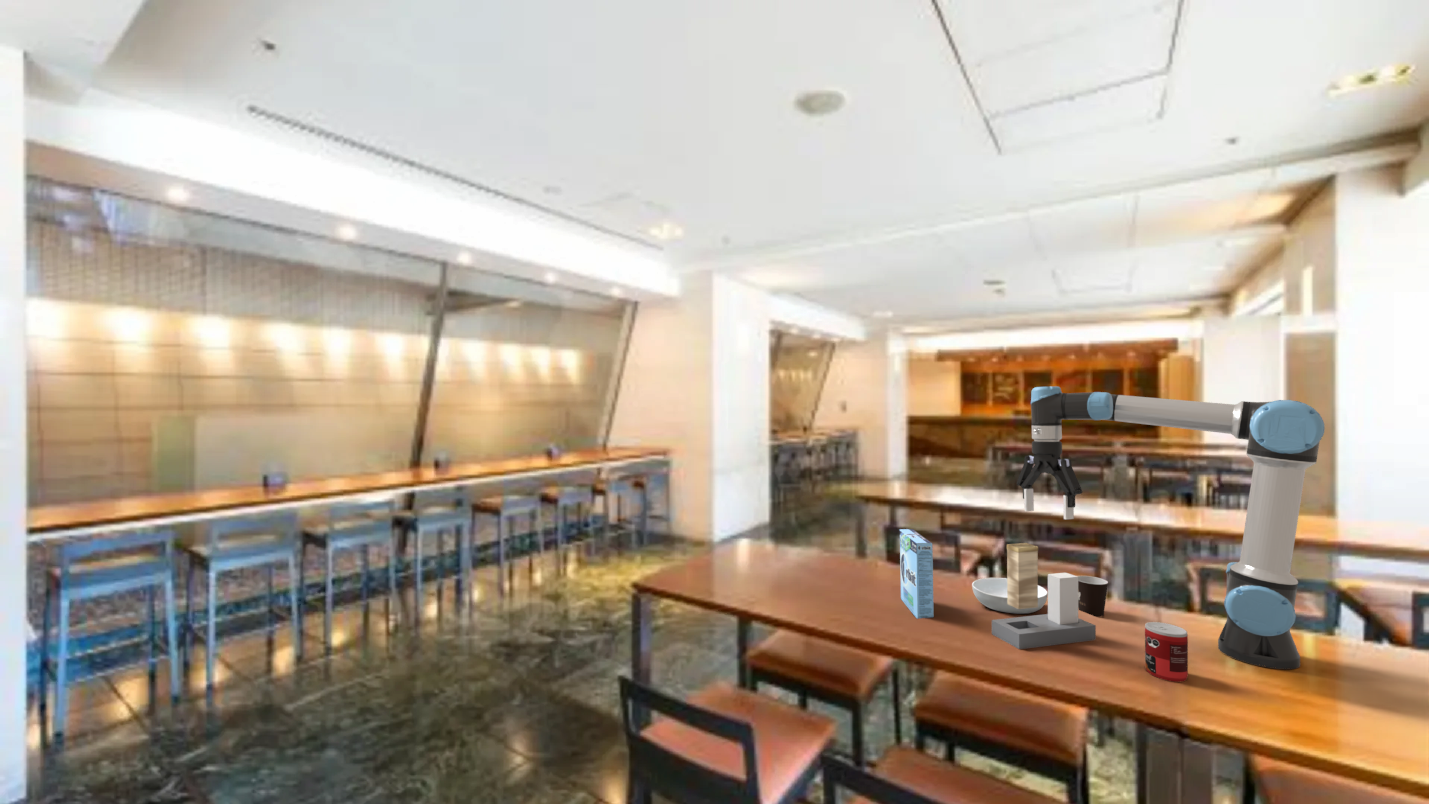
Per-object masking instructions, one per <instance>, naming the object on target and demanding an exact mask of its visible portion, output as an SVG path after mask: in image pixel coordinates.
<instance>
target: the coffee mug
mask: <svg viewBox="0 0 1429 804" xmlns="http://www.w3.org/2000/svg"><path fill="white" fill-rule="evenodd" d="M1076 576H1077V577H1078V611H1081V612H1083V613H1085V614H1088V615H1090V616H1092V617H1096V618H1097V617H1098V618H1100V617H1104V615H1105V609H1106V601H1107V594H1108V587H1109V581H1108V580H1106V579H1105V578H1101V577H1097V576H1089V575H1076Z"/></svg>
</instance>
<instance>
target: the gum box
mask: <svg viewBox="0 0 1429 804" xmlns="http://www.w3.org/2000/svg"><path fill="white" fill-rule="evenodd" d="M933 551H934V550H933V542H931V541H929V540H928V539H927V538H926V537H924V536H923V535H921V534H920V533H919V532H917V531H916V530H915V529H912V528H909V529H908V528H906V529H905V528H903V529H901V528H900V529H899V553H900V554H899V559H900V560H899V563H900V570H899V571H900V575H899V577H900V599H901V601H902V602H903V603H904V605H905V606H906V608H908V610H909V611H910V612H911V614H913V616H914V617H915V618H916V619H918V620H919V619H930V618H934V616H935V615H934V614H935V613H934V611H935V610H934V609H935V608H934V562H933V561H934V559H933V558H934V555H933Z"/></svg>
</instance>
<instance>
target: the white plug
mask: <svg viewBox="0 0 1429 804" xmlns="http://www.w3.org/2000/svg"><path fill="white" fill-rule="evenodd" d="M1077 576H1078V575H1074V574H1072V573H1068V572H1057V573H1048V574H1047V593H1048V595H1047V614H1048V620H1051V621H1053V622H1055V623H1057V624H1059V625H1062V624H1071V623H1078V618H1079V608H1078V577H1077Z"/></svg>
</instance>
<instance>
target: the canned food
mask: <svg viewBox="0 0 1429 804" xmlns="http://www.w3.org/2000/svg"><path fill="white" fill-rule="evenodd" d="M1188 636H1189V635H1188V631H1187V630H1186V629H1185V628H1182V627H1180V626H1178V625H1174V624H1171V623H1168V622H1167V623H1165V622H1159V621H1150V622H1146V623H1145V625H1144V665H1145V666H1144V667H1145V670H1146V672H1147V673H1149V675H1151V676H1152V677H1155V678H1158V679H1160V680H1164V681H1169V682H1174V683H1175V682H1176V683H1180V682H1181V683H1182V682H1185V681H1187V679H1188V677H1189V669H1188V668H1189V663H1188V660H1189V653H1188V651H1189V649H1188V648H1189V647H1188V645H1189V637H1188Z"/></svg>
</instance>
